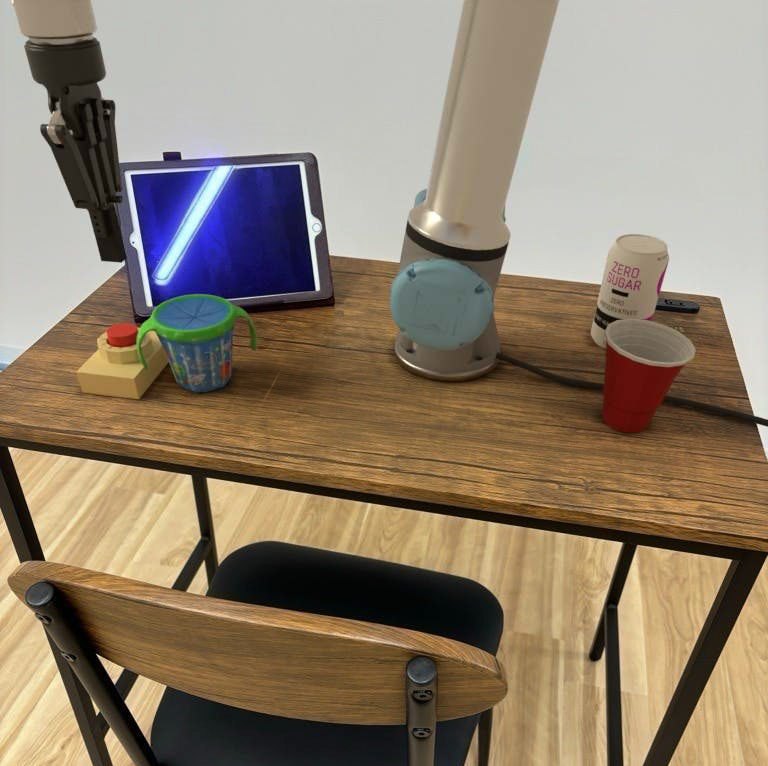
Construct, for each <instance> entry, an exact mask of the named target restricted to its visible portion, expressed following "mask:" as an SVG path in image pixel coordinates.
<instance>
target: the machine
mask: <svg viewBox="0 0 768 766" xmlns="http://www.w3.org/2000/svg"><path fill="white" fill-rule="evenodd" d="M137 328H138V331H139V329H140V328H141V327H137ZM96 342H97V348H98V349H97V350H96V351H95V352H94V353H93V354H91V356H90V357H89V358H88V359H87V360H86V361H85V363H83V364H82V366H80V367H79V368H78V370H76V376H77V378H78V382H79V385H80V388H81V393H83V394H92V395H100V396H108V397H109V396H110V397H117V398H125V399H134V400H140V399H141V398H142V396H143V395H144V394H145V392H146V391H147V390H148V388H149V387H150V386H151V385H152V383H153V382H154V381H155V380H156V378H157V377H158V376H159V375H160V374H161V373H162V371H163V370H164V369H165V367H166V366H167V365H168V364H169V361H168V358H167V355H166V352H165V350H164V348H163V346H162V344H161V342H160V340H159V338H158V336H157V334H156V332H155V331H149V332H147V334H146V335H145V337H144V338H143V340H142V341H141V351H142V354H143V358H144V359H145V361H146V363H147V367H148V369H147V370H145V368H144V367H143V365H142V363H141V360H140V357H139V354H138V351H137V344H135V345H132V346H129V347H122V348H120V347H112V346H111V345H110V344H109V340H108V336H107V331H105V332H104V333H102V334H101V335H100V336H99V337H98V338H97V340H96Z"/></svg>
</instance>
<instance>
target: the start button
mask: <svg viewBox="0 0 768 766" xmlns="http://www.w3.org/2000/svg"><path fill="white" fill-rule="evenodd" d="M138 328H139V327H138V326H137V325H136V324H135V323H131V322H121V323H116V324H113V325H111V326H109V327H108V328H107V329H106V332H107V336H108V340H109V344H110V345H111V346H112V347H120V348H122V347H129V346H132V345H135V344H137V335H138Z"/></svg>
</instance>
